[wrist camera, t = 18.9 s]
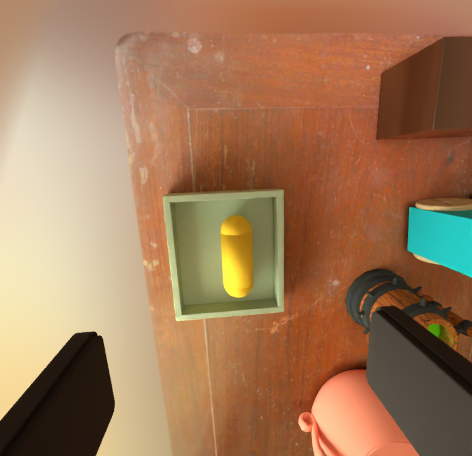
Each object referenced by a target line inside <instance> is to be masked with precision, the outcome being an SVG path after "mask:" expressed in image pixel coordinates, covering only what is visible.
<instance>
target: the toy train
mask: <svg viewBox="0 0 472 456" xmlns="http://www.w3.org/2000/svg"><path fill="white" fill-rule="evenodd" d="M408 251H410V252H412V253H413V255H414V256H415V257H416V258H417V259H419V260H422V261H425V262H428V263H433V264H439V265H443V266H446V267H448V268H450V269H453V270H455V271H457V272H460V273H462V274H465V275H467V276H469V277H472V199H465V198H432V199H424V200H419V201H417V202H416V206H414V207H409V228H408Z"/></svg>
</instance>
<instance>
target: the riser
mask: <svg viewBox="0 0 472 456" xmlns="http://www.w3.org/2000/svg"><path fill="white" fill-rule="evenodd" d="M464 136H472V37H444V38H442V39H440V40H439V41H437V42H435V43H433V44H432V45H430V46H428V47H426V48H425V49H423V50H421V51H419V52H418V53H416V54H414V55H413V56H411V57H409V58H407V59H406V60H404V61H402V62H400V63H399V64H397V65H395V66H393V67H392V68H390V69H388V70H386V71H385V72H383V73H382V77H381V89H380V101H379V114H378V126H377V140H386V139H412V138H438V137H464Z"/></svg>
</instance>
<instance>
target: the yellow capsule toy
mask: <svg viewBox="0 0 472 456" xmlns="http://www.w3.org/2000/svg"><path fill="white" fill-rule="evenodd" d="M220 233H221V250H222V267H223V283H224V287H225V290H226V291H227V293H228V294H230V295H231V296H233V297H237V298H240V297H244V296H246V295H248V294H249V293H250V292H251V290H252V288H253V283H254V279H253V245H252V227H251V224H250V222H249V221H248V220H247V219H246V218H244V217H242V216H239V215H233V216H230V217H228V218H227V219H225V220H224V222H223V223H222V225H221V231H220Z"/></svg>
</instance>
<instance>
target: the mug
mask: <svg viewBox="0 0 472 456" xmlns="http://www.w3.org/2000/svg"><path fill="white" fill-rule="evenodd" d="M421 288H422V287H421V286H420V287H417V288H415V289H412V288H411V287H409V286H408V285H407V284H406V283H405V281H404V279H403V278H402V277H400V276H398V275H397V274H395V273H394V272H392V271H390V270H384V269H375V270H372V271H368V272H365V273H364V274H363V275H361V276H360V277H358V278H357V279H356V280H355V281H354V282H353V284H352V285H351V287H350V288H349V289H348V293H347V297H346V306H347V311H348V313H349V314H350V315H351V317H352V318H353V320H354V321H355V322H356V323H358V324H360V325H362V326H363V327H365V328H366V330H365V331H364V334H366V333H368V332H369V331H370V325H371V315H372V312H374V311H375V310H376V308H377V307H382V306H396V307H398V308H399V309H401V310H402V311H403V312H405V313H406V314H407V315H409V316H410V317H411V318H413V319H414V320H415V321H417V322H418V323H419V324H421V325H422V326H423V327H425V328H426V329H427V330H429V331H430V332H431V333H433V334H434V335H435V336H437V337H438V338H439V339H441V340H442V341H443V342H445V343H446V344H447V345H449V346H450V347H451V348H452V349H454V350H455V351H456V352H457V349H458V340H459V333H462V334H464V335H466V336H469V337H470V336H471V337H472V322H471V321H469V320H464V319H462V318H461V317H459V316H458V315H456V314H454V313H453V312H451V311H450V310H451V309H452V308H451V307H448V308H445V309H444V308H442V305H441V304H439V303H438V302H435V301H434V300H433V298H431V297H430V296H427V295H423V296H421V297H419V296H418V295H417V294H416V293H417V292H418V291H419V290H420V289H421ZM452 325H454V326H452Z"/></svg>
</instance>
